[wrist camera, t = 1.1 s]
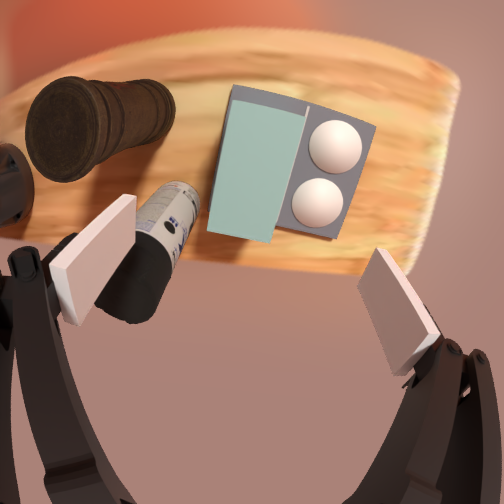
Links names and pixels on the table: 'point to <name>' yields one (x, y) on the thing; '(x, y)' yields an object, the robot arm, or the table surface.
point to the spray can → (151, 253)
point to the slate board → (315, 162)
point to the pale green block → (254, 170)
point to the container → (93, 123)
